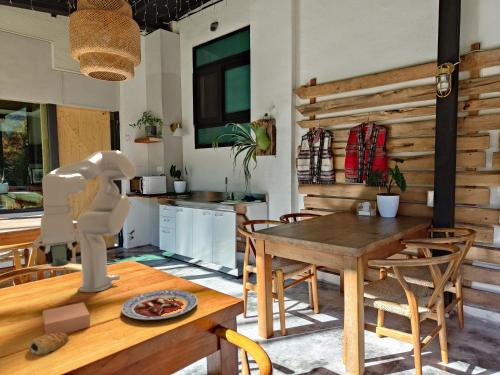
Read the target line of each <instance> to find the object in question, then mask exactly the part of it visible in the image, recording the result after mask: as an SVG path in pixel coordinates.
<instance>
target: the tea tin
mask: <svg viewBox="0 0 500 375" xmlns="http://www.w3.org/2000/svg"><path fill="white" fill-rule="evenodd" d="M49 251H50V255H51V264H50V267H52V268H58V267H60V268H61V267H64V266H68V265H69V262H70V261H68V245H67V243H58V244H51V246H50V249H49Z"/></svg>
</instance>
